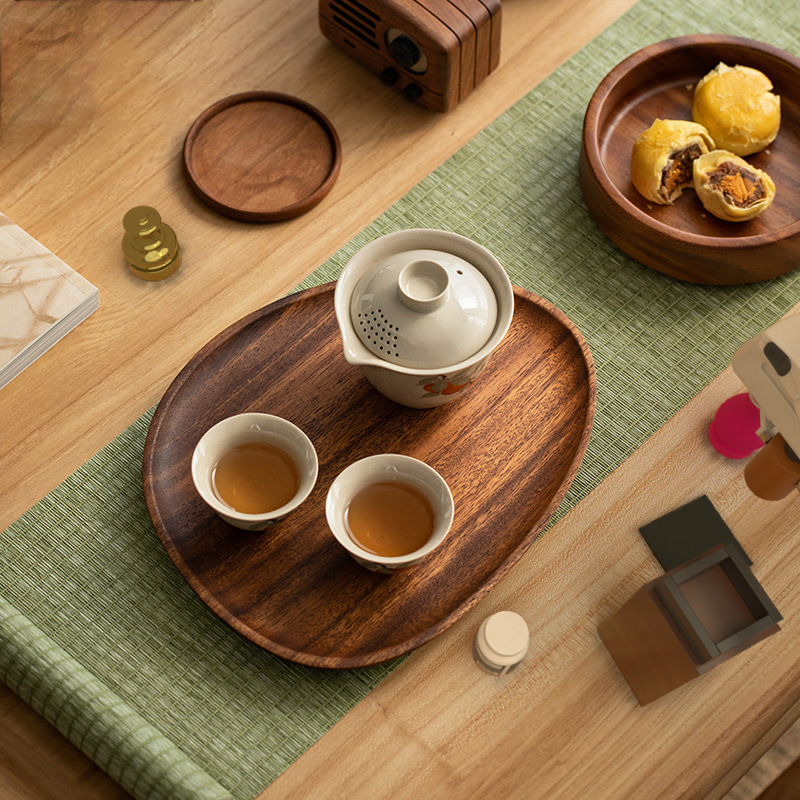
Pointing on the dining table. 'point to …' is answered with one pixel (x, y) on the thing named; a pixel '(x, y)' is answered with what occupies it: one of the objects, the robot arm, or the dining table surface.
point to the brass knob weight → (149, 244)
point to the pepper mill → (736, 427)
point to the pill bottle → (501, 643)
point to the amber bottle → (773, 470)
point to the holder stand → (688, 623)
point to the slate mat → (688, 534)
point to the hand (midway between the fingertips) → (784, 462)
